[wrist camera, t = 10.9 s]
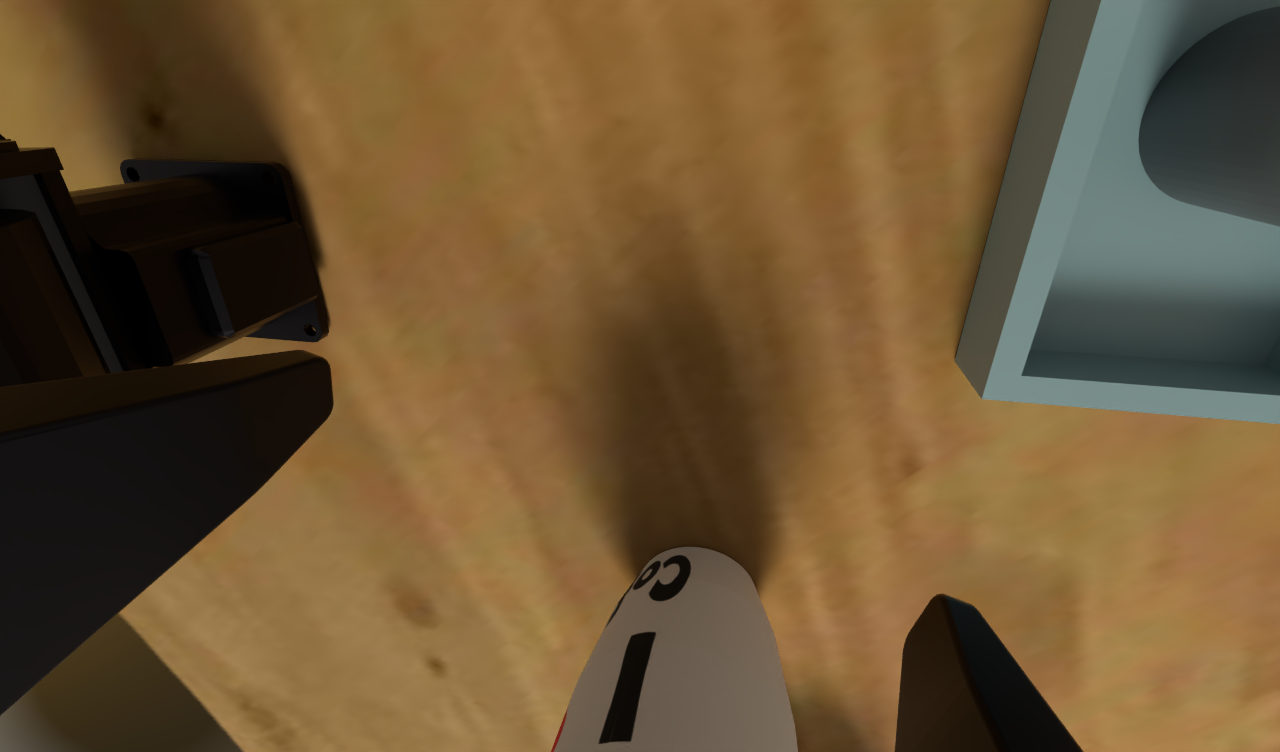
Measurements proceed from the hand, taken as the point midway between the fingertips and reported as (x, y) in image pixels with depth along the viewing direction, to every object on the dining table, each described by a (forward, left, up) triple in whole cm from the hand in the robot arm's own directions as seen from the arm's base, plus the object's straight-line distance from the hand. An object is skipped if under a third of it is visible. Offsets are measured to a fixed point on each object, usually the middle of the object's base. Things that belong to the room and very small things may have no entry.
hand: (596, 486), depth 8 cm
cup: (+1, -15, -12) cm, 19 cm away
